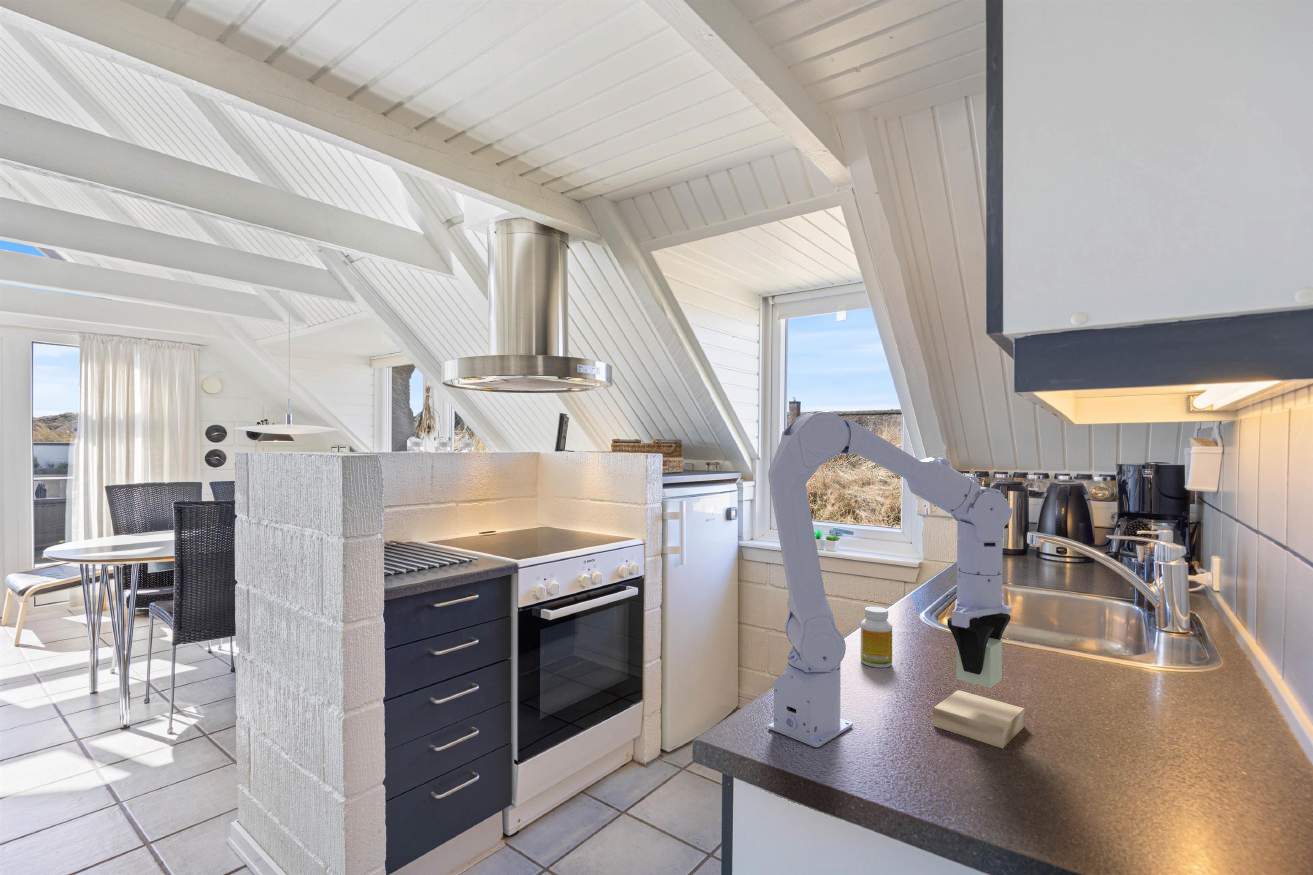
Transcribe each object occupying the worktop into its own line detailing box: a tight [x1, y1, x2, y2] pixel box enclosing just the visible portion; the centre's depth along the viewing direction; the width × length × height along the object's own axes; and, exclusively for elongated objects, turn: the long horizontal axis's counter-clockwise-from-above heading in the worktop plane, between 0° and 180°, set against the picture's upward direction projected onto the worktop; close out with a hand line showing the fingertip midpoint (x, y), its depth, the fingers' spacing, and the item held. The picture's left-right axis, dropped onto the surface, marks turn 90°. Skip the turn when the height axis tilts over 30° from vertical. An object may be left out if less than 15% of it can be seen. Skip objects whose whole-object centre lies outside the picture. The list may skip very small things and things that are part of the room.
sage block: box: [955, 638, 1003, 689], centre depth 90 cm, size 4×4×6 cm
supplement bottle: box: [860, 606, 893, 669], centre depth 115 cm, size 5×5×10 cm
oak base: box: [933, 689, 1025, 749], centre depth 90 cm, size 9×9×3 cm
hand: (979, 667), depth 90 cm, fingers closed on sage block, 4 cm apart
